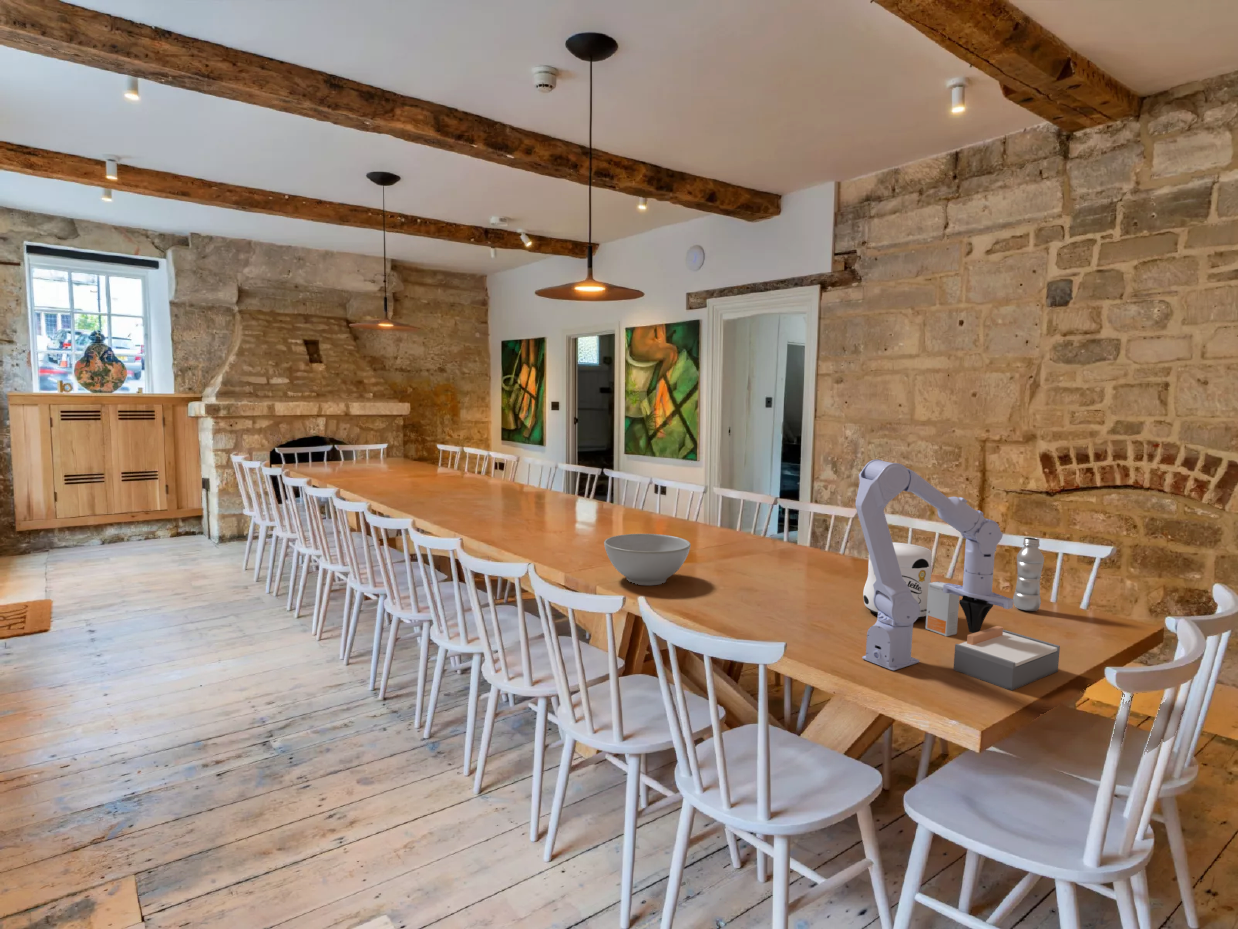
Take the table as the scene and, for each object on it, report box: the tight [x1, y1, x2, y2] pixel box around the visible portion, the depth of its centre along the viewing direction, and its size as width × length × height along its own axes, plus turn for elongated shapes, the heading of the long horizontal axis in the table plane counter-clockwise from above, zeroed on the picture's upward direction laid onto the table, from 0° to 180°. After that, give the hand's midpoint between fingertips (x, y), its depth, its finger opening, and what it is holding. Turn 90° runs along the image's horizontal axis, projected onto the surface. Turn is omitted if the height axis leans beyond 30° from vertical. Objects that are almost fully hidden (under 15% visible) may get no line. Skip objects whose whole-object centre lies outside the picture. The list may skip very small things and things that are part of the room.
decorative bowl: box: [603, 533, 691, 586], centre depth 211 cm, size 27×27×12 cm
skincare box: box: [925, 580, 960, 637], centre depth 168 cm, size 6×4×12 cm
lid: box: [958, 625, 1057, 666], centre depth 144 cm, size 17×12×2 cm
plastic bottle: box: [1012, 537, 1045, 612], centre depth 187 cm, size 6×7×20 cm
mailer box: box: [953, 629, 1061, 692], centre depth 144 cm, size 19×12×6 cm, turn 123°
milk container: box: [862, 541, 933, 620], centre depth 181 cm, size 17×17×18 cm
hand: (974, 632), depth 150 cm, fingers closed
